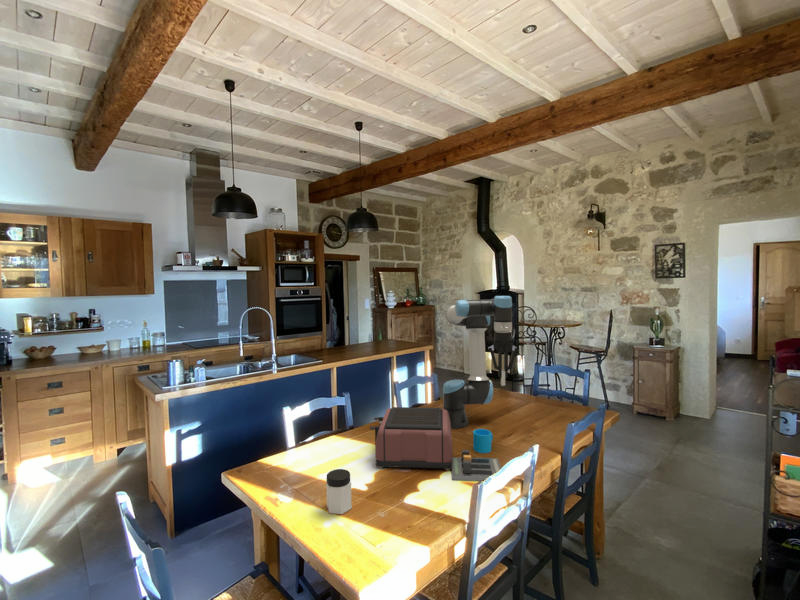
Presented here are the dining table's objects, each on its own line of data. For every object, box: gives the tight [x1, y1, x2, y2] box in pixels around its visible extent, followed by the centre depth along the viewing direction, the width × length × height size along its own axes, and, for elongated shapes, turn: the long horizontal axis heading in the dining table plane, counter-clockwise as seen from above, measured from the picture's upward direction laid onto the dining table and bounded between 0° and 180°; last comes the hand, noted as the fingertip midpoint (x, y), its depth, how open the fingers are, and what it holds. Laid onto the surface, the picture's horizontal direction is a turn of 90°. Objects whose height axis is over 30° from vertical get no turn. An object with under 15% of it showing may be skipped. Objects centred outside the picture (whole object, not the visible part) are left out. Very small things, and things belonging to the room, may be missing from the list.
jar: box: [325, 468, 353, 515], centre depth 141 cm, size 9×8×12 cm
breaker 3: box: [463, 460, 471, 473], centre depth 162 cm, size 3×3×4 cm
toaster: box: [369, 406, 453, 471], centre depth 183 cm, size 31×36×18 cm
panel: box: [451, 456, 502, 482], centre depth 167 cm, size 16×20×2 cm
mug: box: [472, 428, 494, 454], centre depth 189 cm, size 12×8×8 cm
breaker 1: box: [461, 449, 470, 462], centre depth 172 cm, size 3×3×4 cm
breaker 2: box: [463, 454, 472, 461], centre depth 167 cm, size 3×3×4 cm
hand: (502, 384), depth 178 cm, fingers closed
